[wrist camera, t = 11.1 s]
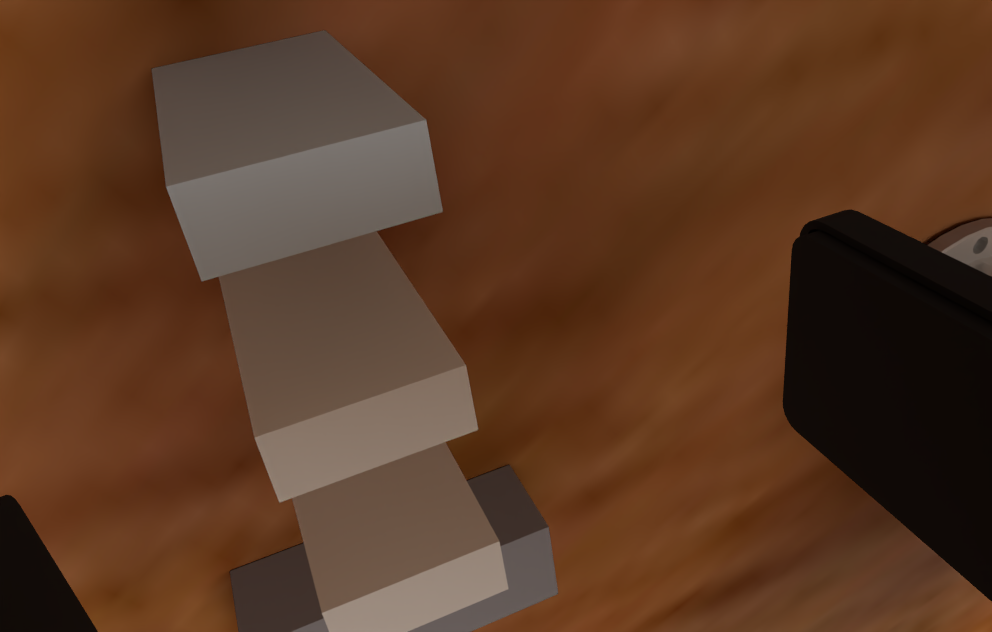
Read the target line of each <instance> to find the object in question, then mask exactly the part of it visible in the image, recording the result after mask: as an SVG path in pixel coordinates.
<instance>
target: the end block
mask: <svg viewBox="0 0 992 632" xmlns="http://www.w3.org/2000/svg"><path fill="white" fill-rule="evenodd" d="M467 483H468V484H469V486H470V488H471V490H472V492H473V494H474V495H475V497H476V499H477V501H478V503H479V505H480V506H481V508H482V510H483V512H484V514H485V516H486V517H487V519H488V521H489V523H490V525H491V527H492V528H493V530H494V532H495V534H496V536H497V538H498V539H499V542H500V547H501V552H502V557H503V563H504V568H505V573H506V578H507V584H508V590H505V591H503V592H501V593H498V594H496V595H493V596H491V597H489V598H486V599H484V600H482V601H479V602H477V603H474V604H472V605H470V606H467V607H465V608H463V609H460V610H458V611H456V612H453V613H451V614H448V615H446V616H444V617H441V618H439V619H437V620H434V621H432V622H429V623H427V624H425V625H422V626H420V627H418V628H415V629H413V630H410V631H408V632H471V631H473V630H476V629H478V628H480V627H482V626H485V625H487V624H489V623H492V622H494V621H496V620H499V619H501V618H503V617H506V616H508V615H510V614H513V613H515V612H517V611H520V610H522V609H524V608H527V607H529V606H531V605H534V604H536V603H538V602H540V601H543V600H545V599H547V598H550V597H552V596H554V595H557V594H558V589H557V582H556V575H555V568H554V561H553V554H552V547H551V540H550V533H549V527H548V525H547V523H546V522H545V520H544V519H543V517H542V515H541V514H540V512H539V511H538V509H537V508H536V506H535V504H534V503H533V501H532V500H531V498H530V496H529V495H528V493H527V492H526V490H525V488H524V487H523V485H522V484H521V482H520V481H519V479H518V477H517V476H516V474H515V473H514V471H513V469H512V468H511V466H510V465H507V466H505V467H502V468H499V469H497V470H494V471H491V472H489V473H486V474H484V475H481V476H478V477H476V478H473V479H470V480H468V481H467ZM230 577H231V584H232V590H233V597H234V604H235V611H236V618H237V625H238V631H239V632H329V630H328V628H327V625H326V623H325V620H324V617H323V615H322V612H321V608H320V604H319V600H318V596H317V592H316V589H315V585H314V581H313V577H312V573H311V569H310V565H309V562H308V558H307V554H306V550H305V546H304V543H303V544H300V545H297V546H295V547H292V548H289V549H287V550H284V551H282V552H279V553H276V554H274V555H271V556H269V557H266V558H263V559H261V560H258V561H255V562H253V563H250V564H248V565H245V566H242V567H240V568H237V569H234V570H232V571H230Z"/></svg>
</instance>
